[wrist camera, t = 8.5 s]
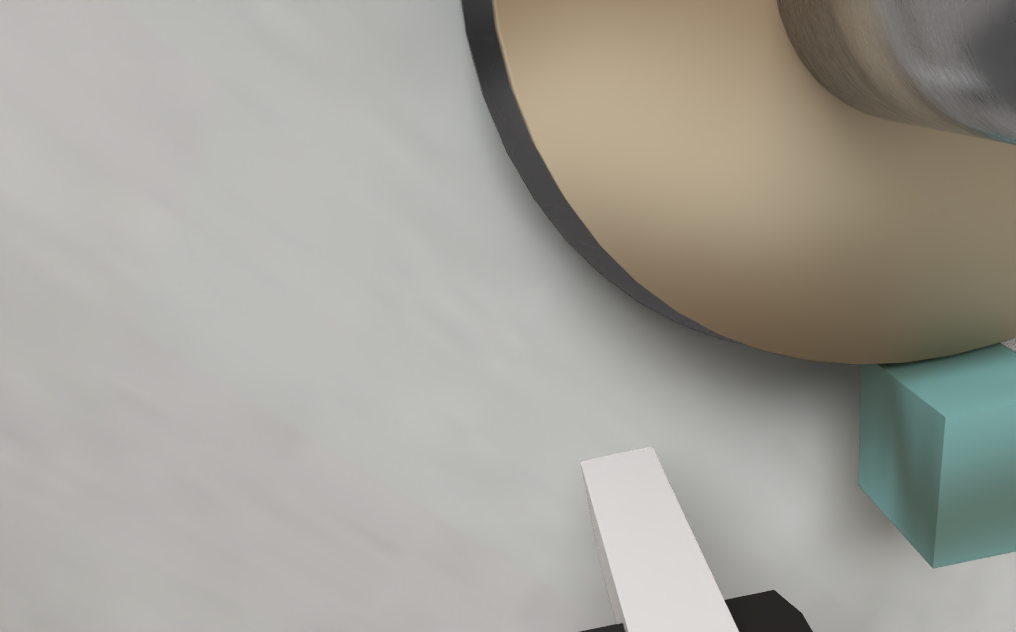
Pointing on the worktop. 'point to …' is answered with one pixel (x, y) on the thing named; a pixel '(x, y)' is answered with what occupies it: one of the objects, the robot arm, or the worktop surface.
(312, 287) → the worktop surface
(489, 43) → the turntable base
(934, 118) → the cover
